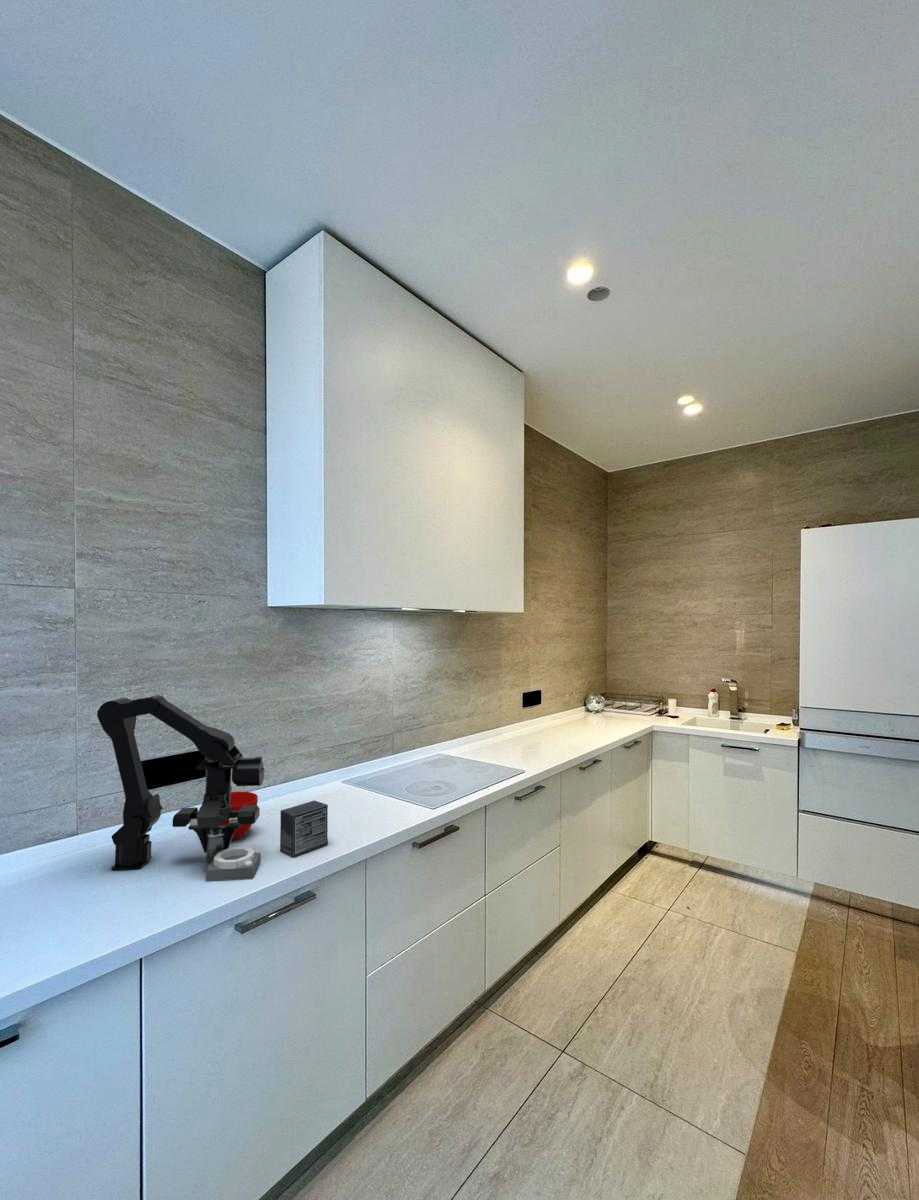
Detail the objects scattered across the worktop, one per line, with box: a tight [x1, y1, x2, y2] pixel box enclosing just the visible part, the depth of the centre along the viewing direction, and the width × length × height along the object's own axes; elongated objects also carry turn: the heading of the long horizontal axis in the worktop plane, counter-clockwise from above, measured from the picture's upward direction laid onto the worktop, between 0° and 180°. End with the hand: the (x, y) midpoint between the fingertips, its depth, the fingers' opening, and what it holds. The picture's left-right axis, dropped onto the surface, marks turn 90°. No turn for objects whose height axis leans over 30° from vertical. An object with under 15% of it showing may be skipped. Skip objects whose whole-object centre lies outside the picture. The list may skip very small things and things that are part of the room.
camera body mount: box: [205, 846, 262, 882], centre depth 125 cm, size 10×8×4 cm
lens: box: [205, 823, 227, 865], centre depth 131 cm, size 5×5×8 cm
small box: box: [279, 800, 329, 859], centre depth 139 cm, size 11×6×10 cm, turn 141°
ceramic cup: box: [220, 790, 259, 841], centre depth 148 cm, size 13×17×10 cm
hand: (216, 851), depth 131 cm, fingers closed on lens, 4 cm apart
